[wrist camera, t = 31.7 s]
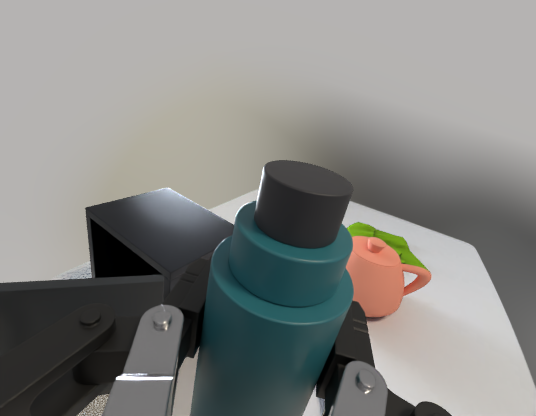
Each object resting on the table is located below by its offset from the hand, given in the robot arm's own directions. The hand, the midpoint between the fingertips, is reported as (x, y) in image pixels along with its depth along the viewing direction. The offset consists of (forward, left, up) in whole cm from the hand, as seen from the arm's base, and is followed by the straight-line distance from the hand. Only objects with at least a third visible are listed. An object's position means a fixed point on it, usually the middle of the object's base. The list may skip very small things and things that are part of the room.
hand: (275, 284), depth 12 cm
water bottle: (-1, -2, -7) cm, 8 cm away
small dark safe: (-3, +24, -27) cm, 36 cm away
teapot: (+32, +23, -27) cm, 48 cm away
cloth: (+52, +36, -27) cm, 69 cm away
